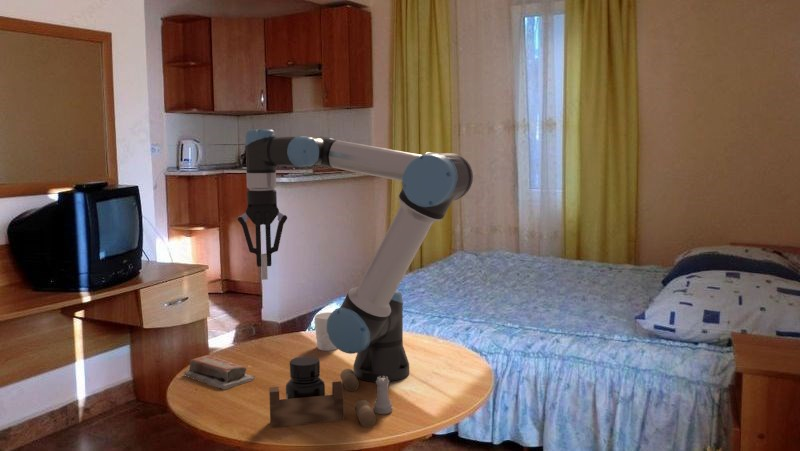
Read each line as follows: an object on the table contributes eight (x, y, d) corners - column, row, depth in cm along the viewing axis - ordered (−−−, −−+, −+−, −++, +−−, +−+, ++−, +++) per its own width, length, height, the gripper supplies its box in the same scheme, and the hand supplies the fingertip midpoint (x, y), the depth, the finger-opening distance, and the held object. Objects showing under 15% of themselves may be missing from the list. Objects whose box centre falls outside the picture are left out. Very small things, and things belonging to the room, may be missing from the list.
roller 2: (354, 415, 155) (354, 400, 154) (369, 414, 155) (370, 399, 155) (359, 427, 148) (360, 411, 147) (375, 426, 149) (376, 411, 148)
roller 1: (340, 382, 176) (340, 368, 176) (353, 381, 177) (354, 368, 177) (344, 391, 170) (344, 377, 169) (358, 391, 170) (358, 377, 170)
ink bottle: (306, 400, 164) (304, 352, 162) (334, 408, 159) (333, 358, 157) (277, 413, 156) (275, 363, 154) (305, 422, 151) (304, 370, 149)
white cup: (339, 351, 203) (339, 318, 202) (313, 351, 203) (312, 318, 202) (342, 343, 211) (341, 312, 209) (317, 343, 211) (316, 312, 210)
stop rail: (341, 415, 155) (341, 381, 154) (343, 420, 152) (343, 385, 151) (270, 422, 151) (269, 387, 150) (270, 427, 148) (269, 392, 147)
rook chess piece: (377, 416, 154) (377, 382, 153) (370, 409, 158) (369, 376, 157) (395, 413, 156) (395, 379, 155) (388, 406, 160) (387, 373, 159)
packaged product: (182, 360, 182) (213, 351, 190) (182, 377, 182) (213, 367, 190) (223, 373, 171) (255, 363, 178) (224, 392, 171) (255, 381, 179)
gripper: (286, 187, 181) (288, 274, 184) (236, 188, 178) (239, 277, 181) (287, 189, 174) (290, 279, 177) (235, 190, 171) (239, 282, 174)
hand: (264, 278), depth 179 cm, fingers closed
